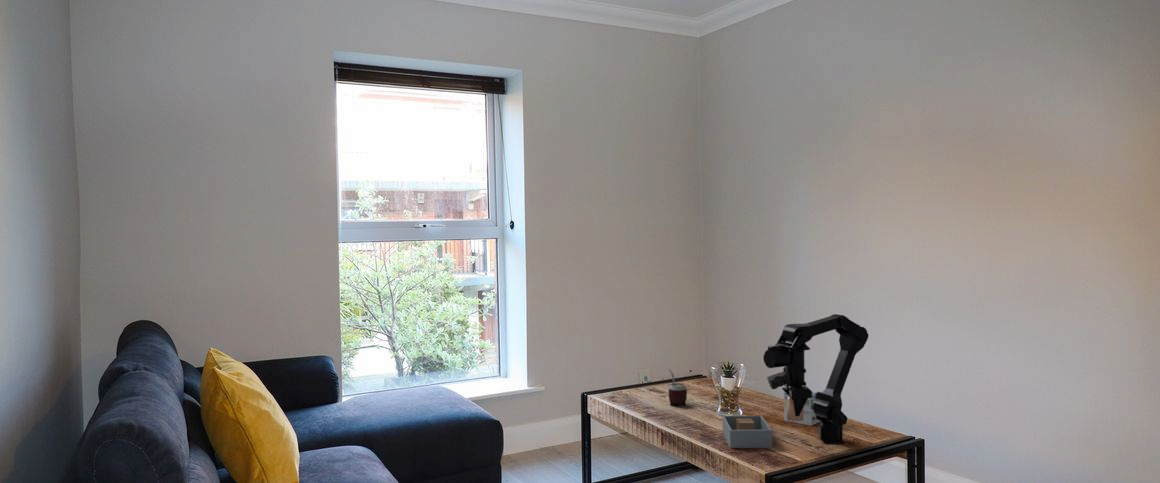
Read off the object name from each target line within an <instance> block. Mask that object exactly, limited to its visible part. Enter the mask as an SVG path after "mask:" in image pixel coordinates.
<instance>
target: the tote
mask: <svg viewBox="0 0 1160 483" xmlns="http://www.w3.org/2000/svg"><path fill="white" fill-rule="evenodd" d="M736 419H752V420H753V422H754V430H737V426H736ZM722 434H723V436H724V438H725V440H726V442H727V444H728V446H729V448H730V449H737V448H738V449H745V448H747V449H753V448H754V449H756V448H757V449H758V448H761V449H763V448H766V449H767V448H770V449H771V448H773V430H772V428H771V427H770V425H769V424H768V423H767V421H766V420H765V418H764V417H763V415H722Z"/></svg>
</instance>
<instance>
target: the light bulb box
mask: <svg viewBox="0 0 1160 483" xmlns="http://www.w3.org/2000/svg"><path fill="white" fill-rule="evenodd" d="M817 392H818V391H812V398H808V399H807V401H806V403H805V405H804V407H803V420H802V421H791V420H788V419H787V396H788V395H787V393H786V392H785V391H784V390H783V419H784V422H790V423H794V424H799V425H800V424H801V425H805V426H811V427H812V426H814V425H816V424H818V423H820V420H817V419H816V415H815V413H814V410H813V404H814V403H812V402H813V401H814V399H815V396H816V393H817Z"/></svg>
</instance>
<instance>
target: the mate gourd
mask: <svg viewBox="0 0 1160 483" xmlns="http://www.w3.org/2000/svg"><path fill="white" fill-rule="evenodd" d="M668 371H669V372H670V374H671V377H672V378H671V379H672V382H673V383H672V384H670V386H669V387H668V400H669V406H673V407H674V406H677V407H678V408H680V407H681V406H686V405H687V404H686V400H687V399H688V398H687V396H688V390H687V386H685V385H686V384H683V383H677V382H676V383H675V377H674V376H675V375H674V372H673V371H672V370H671V369H668Z"/></svg>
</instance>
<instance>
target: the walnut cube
mask: <svg viewBox="0 0 1160 483" xmlns="http://www.w3.org/2000/svg"><path fill="white" fill-rule="evenodd" d="M736 426H737V430H754V422H753V420H752V419H736Z"/></svg>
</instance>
